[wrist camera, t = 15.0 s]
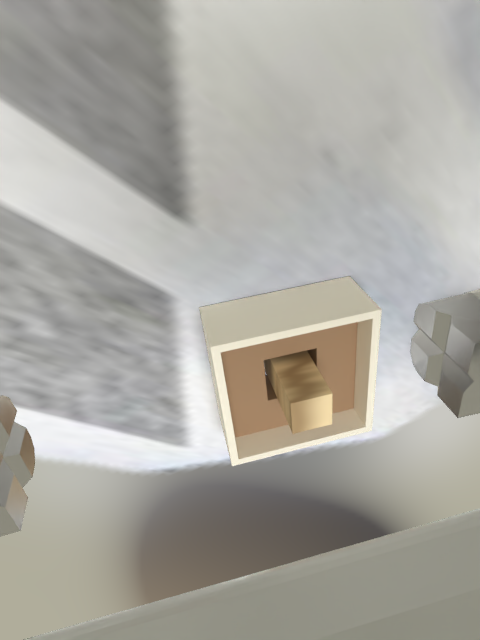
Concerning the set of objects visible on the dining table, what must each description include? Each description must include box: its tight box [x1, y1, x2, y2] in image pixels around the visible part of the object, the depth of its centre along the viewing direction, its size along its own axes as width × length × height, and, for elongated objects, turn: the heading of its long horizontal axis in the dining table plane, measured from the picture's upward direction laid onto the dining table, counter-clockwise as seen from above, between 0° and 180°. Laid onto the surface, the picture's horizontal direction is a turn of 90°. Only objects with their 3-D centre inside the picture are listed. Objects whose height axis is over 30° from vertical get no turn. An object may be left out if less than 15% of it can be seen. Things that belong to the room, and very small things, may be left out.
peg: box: [264, 350, 332, 434], centre depth 45 cm, size 4×4×10 cm
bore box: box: [199, 276, 382, 466], centre depth 46 cm, size 16×16×7 cm
